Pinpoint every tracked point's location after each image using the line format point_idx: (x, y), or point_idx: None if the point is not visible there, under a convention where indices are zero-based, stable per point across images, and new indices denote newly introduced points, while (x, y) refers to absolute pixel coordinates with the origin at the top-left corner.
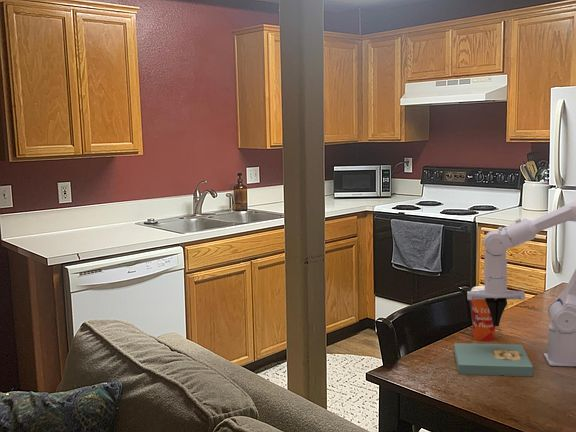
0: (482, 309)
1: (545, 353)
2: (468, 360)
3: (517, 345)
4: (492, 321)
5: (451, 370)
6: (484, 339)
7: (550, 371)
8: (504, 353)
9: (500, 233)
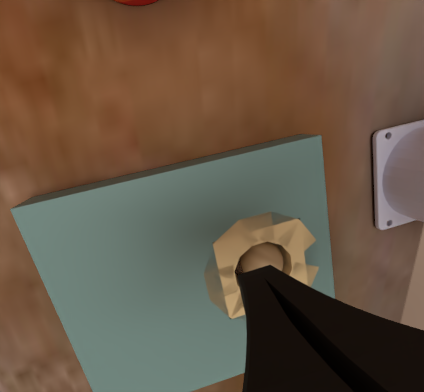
0: None
1: (382, 134)
2: (132, 374)
3: (304, 151)
4: (242, 291)
5: (80, 370)
6: (139, 2)
7: (368, 264)
8: (255, 268)
9: None
